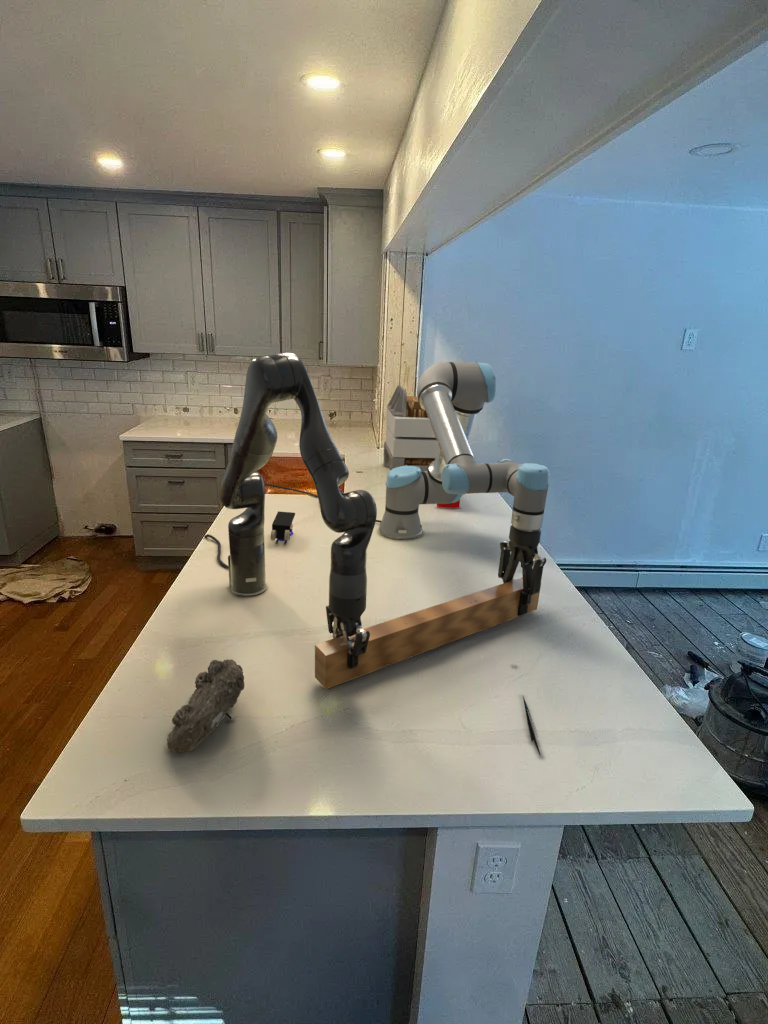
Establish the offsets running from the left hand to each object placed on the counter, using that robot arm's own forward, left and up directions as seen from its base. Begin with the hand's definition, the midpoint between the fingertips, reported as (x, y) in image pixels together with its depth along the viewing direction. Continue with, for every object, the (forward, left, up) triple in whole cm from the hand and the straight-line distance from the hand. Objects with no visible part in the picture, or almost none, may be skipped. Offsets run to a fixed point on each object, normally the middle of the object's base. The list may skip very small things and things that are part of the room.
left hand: (346, 660), depth 119 cm
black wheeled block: (-66, +44, -5) cm, 80 cm away
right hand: (+16, +49, -3) cm, 51 cm away
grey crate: (-79, +146, -5) cm, 166 cm away
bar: (+8, +24, -3) cm, 26 cm away
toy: (-51, +122, -5) cm, 132 cm away
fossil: (-12, -25, -5) cm, 28 cm away
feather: (+33, +17, -5) cm, 38 cm away
